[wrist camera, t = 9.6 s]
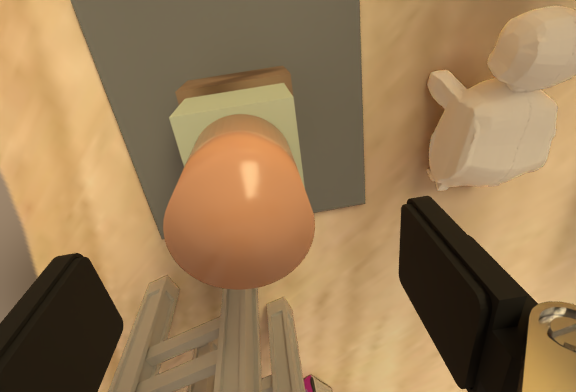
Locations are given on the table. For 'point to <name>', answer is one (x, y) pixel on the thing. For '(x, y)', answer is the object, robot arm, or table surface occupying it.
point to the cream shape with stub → (504, 104)
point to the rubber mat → (226, 60)
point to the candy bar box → (315, 385)
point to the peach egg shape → (239, 207)
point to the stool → (209, 347)
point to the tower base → (234, 82)
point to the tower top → (253, 101)
